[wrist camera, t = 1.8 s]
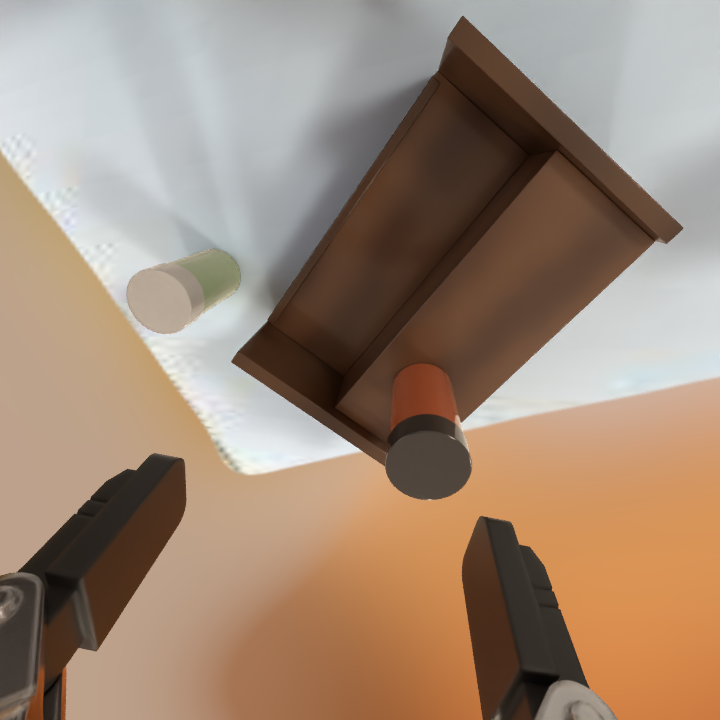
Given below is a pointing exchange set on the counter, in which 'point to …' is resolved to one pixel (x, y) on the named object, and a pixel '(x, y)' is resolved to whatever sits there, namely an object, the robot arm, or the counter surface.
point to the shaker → (182, 290)
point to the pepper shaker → (426, 435)
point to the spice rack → (454, 250)
